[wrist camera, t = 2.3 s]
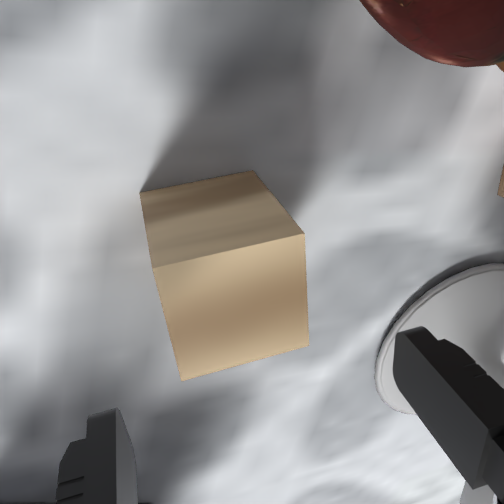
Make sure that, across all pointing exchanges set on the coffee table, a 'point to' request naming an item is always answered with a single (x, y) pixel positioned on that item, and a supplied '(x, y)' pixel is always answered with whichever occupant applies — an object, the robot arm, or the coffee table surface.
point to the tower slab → (501, 185)
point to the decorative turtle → (445, 29)
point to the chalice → (454, 336)
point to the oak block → (226, 272)
